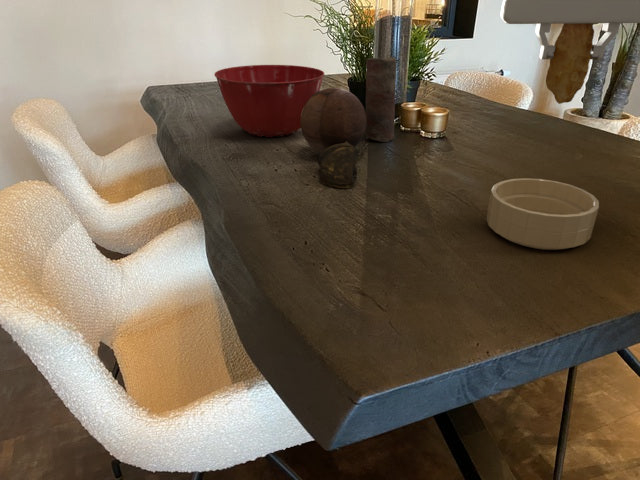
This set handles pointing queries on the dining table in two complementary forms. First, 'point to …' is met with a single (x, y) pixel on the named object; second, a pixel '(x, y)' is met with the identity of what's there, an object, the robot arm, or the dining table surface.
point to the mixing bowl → (268, 96)
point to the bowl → (542, 213)
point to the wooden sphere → (333, 119)
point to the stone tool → (570, 61)
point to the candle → (380, 98)
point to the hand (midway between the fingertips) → (570, 59)
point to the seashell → (338, 165)
